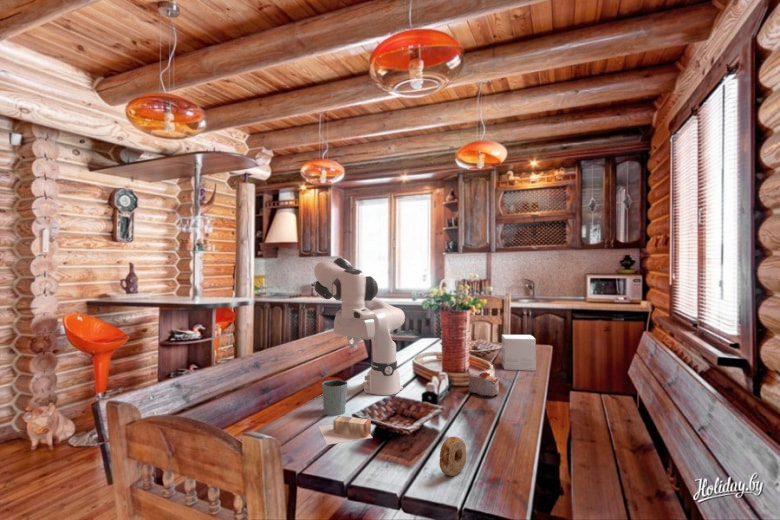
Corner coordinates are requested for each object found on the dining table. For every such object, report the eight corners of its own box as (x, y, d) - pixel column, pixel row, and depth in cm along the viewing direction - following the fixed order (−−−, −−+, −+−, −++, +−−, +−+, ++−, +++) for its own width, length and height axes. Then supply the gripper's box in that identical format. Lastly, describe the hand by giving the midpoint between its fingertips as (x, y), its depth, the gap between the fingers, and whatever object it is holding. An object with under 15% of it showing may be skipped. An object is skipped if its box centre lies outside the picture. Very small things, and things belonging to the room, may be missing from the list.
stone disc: (448, 482, 113) (448, 446, 113) (437, 477, 116) (437, 442, 116) (469, 468, 121) (469, 435, 121) (458, 464, 123) (458, 431, 123)
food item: (501, 394, 188) (501, 373, 188) (494, 399, 182) (494, 377, 182) (474, 388, 196) (474, 368, 196) (466, 393, 190) (467, 371, 190)
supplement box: (531, 365, 241) (531, 334, 241) (536, 371, 228) (536, 338, 228) (501, 364, 243) (501, 333, 244) (504, 370, 230) (504, 338, 230)
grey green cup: (319, 417, 160) (319, 386, 160) (324, 407, 170) (324, 379, 170) (345, 417, 160) (345, 386, 160) (348, 408, 170) (348, 379, 170)
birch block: (333, 420, 144) (366, 424, 141) (338, 415, 149) (370, 419, 145) (333, 433, 144) (366, 437, 141) (338, 428, 149) (370, 432, 145)
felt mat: (318, 427, 150) (318, 426, 150) (360, 421, 156) (360, 420, 156) (326, 445, 135) (326, 444, 135) (372, 438, 141) (372, 437, 141)
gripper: (329, 310, 160) (329, 345, 160) (364, 315, 146) (364, 353, 146) (342, 309, 165) (342, 343, 165) (377, 313, 150) (377, 350, 150)
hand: (353, 348), depth 155 cm, fingers closed
